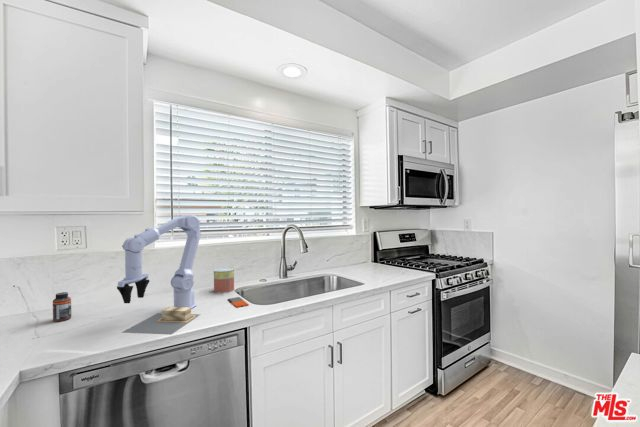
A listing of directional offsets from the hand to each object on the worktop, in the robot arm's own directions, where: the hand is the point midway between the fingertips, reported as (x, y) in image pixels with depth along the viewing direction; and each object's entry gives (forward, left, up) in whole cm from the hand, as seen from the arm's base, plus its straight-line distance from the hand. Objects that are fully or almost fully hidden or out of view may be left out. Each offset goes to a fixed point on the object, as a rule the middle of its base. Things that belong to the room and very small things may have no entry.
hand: (134, 300), depth 121 cm
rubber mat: (0, +13, -9) cm, 16 cm away
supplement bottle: (-1, -34, -10) cm, 35 cm away
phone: (-30, +32, -10) cm, 45 cm away
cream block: (-5, +15, -9) cm, 18 cm away
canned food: (-52, +15, -10) cm, 55 cm away
